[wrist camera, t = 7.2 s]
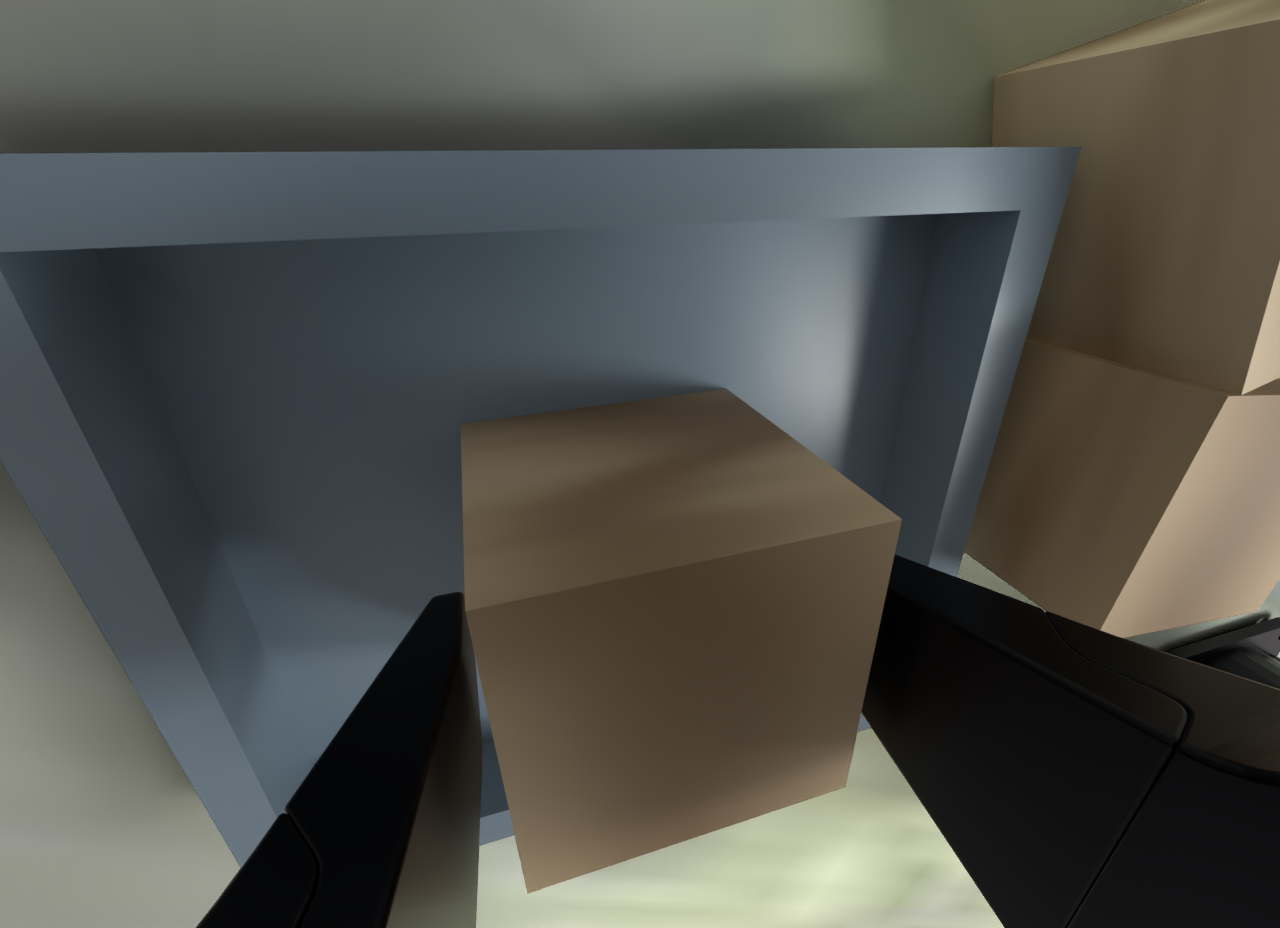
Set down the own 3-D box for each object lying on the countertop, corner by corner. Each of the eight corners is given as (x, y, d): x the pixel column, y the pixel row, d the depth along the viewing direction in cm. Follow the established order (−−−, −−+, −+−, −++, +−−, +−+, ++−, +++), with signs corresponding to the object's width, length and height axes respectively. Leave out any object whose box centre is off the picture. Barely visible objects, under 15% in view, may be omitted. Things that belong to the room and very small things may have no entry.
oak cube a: (726, 388, 10) (902, 519, 6) (718, 591, 12) (845, 786, 8) (460, 424, 9) (466, 610, 5) (501, 640, 11) (528, 893, 7)
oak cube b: (1123, 331, 13) (1406, 392, 9) (1048, 500, 15) (1257, 611, 11) (972, 326, 12) (1228, 395, 8) (911, 513, 14) (1092, 644, 10)
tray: (961, 154, 10) (1082, 146, 8) (858, 647, 15) (916, 714, 13) (3, 163, 7) (-182, 155, 5) (296, 792, 12) (265, 910, 10)
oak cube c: (1203, 0, 10) (1668, -116, 6) (1158, 253, 12) (1480, 284, 8) (989, 78, 10) (1352, 4, 6) (984, 326, 12) (1241, 395, 8)
